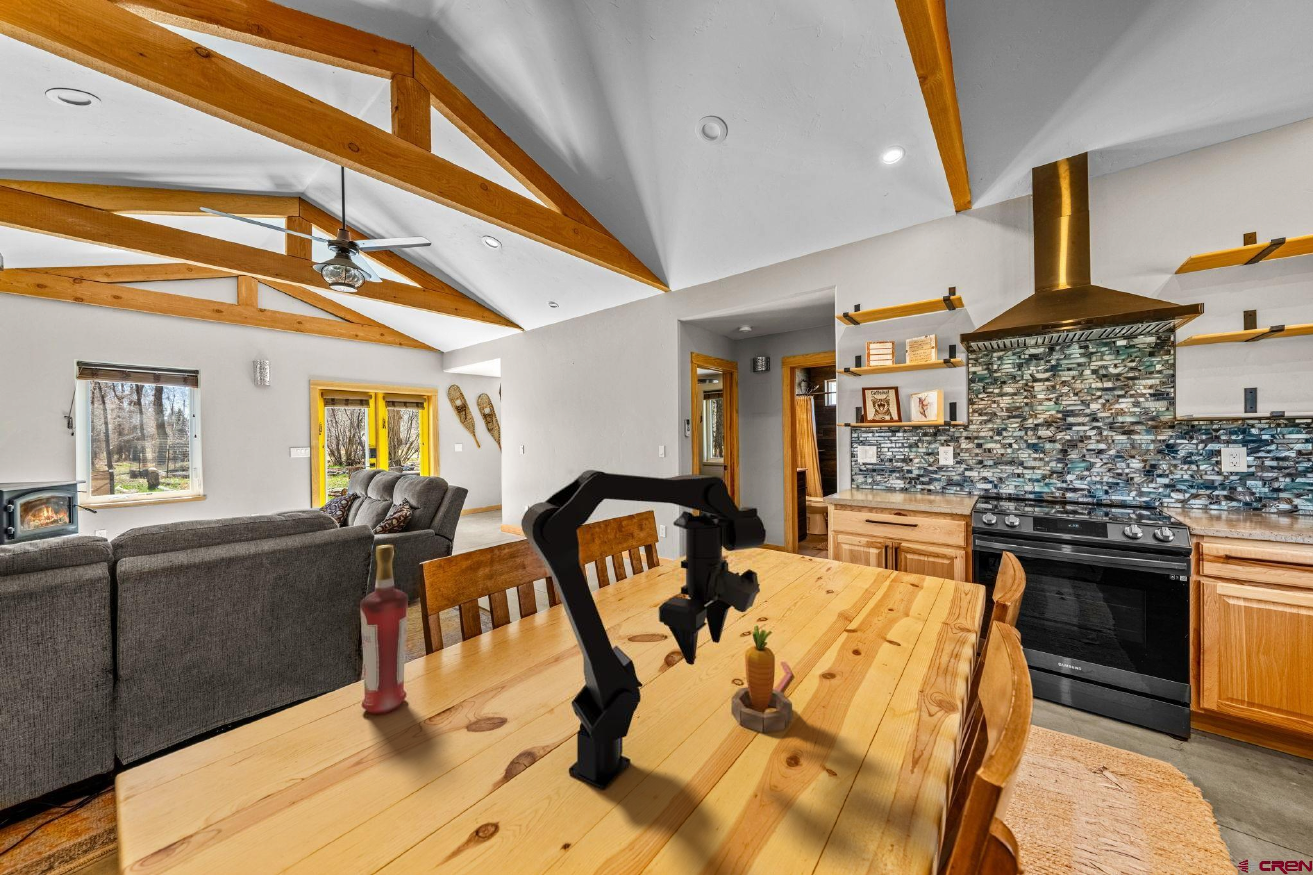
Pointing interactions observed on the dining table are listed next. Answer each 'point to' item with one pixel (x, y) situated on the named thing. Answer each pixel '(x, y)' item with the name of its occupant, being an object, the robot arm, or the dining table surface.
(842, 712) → the dining table surface
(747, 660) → the carrot
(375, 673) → the liquor
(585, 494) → the robot arm
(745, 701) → the bead ring
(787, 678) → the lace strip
